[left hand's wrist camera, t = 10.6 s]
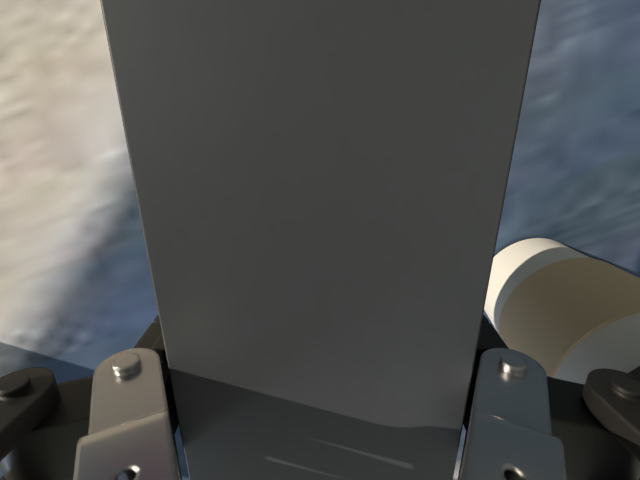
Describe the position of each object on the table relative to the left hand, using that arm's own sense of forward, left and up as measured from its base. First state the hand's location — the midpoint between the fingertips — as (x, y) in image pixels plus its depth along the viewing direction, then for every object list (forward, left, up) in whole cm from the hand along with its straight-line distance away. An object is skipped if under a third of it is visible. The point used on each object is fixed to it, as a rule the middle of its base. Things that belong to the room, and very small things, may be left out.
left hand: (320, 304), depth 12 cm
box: (-5, +5, -6) cm, 9 cm away
